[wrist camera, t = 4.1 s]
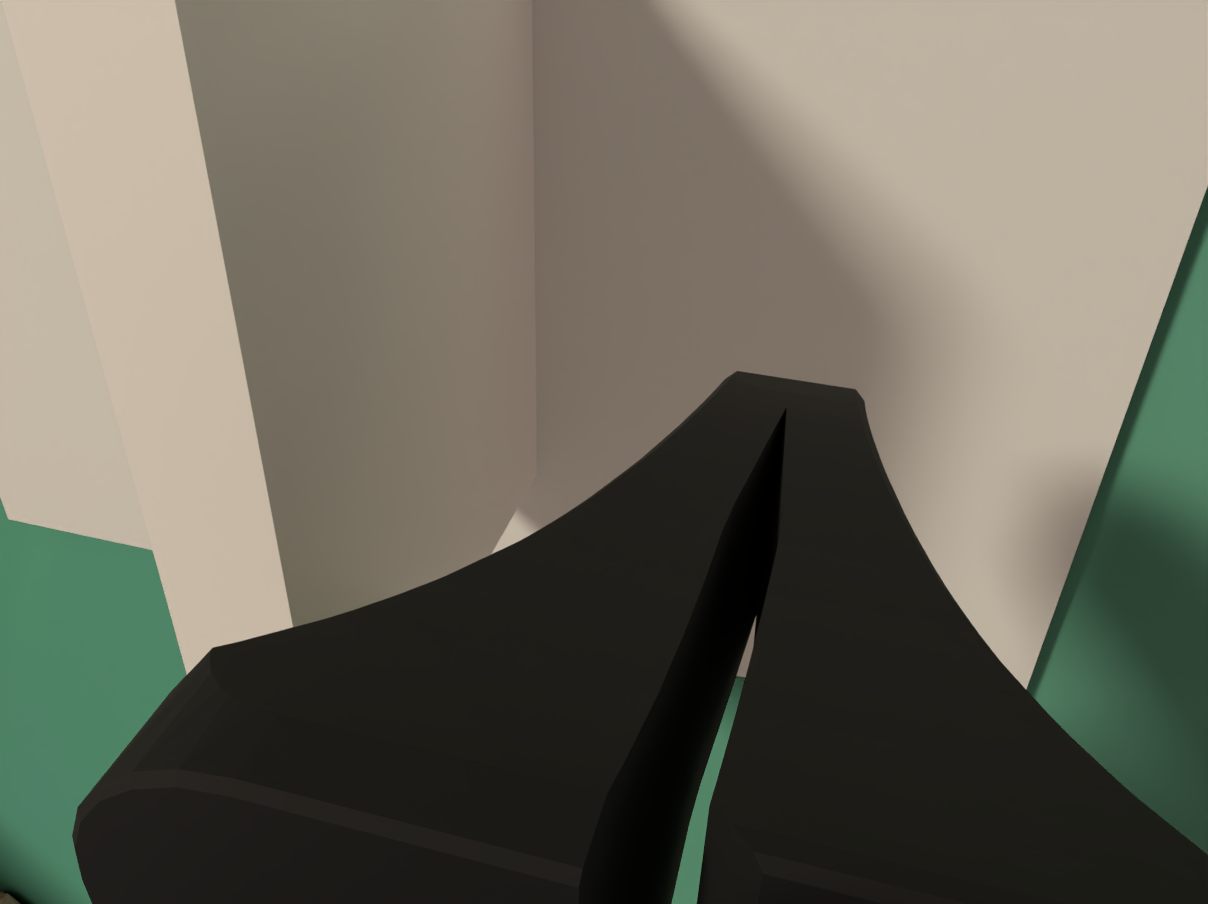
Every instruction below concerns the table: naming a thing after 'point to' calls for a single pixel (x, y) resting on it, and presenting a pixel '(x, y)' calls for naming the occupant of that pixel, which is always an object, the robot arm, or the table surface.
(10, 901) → the toy bridge
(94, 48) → the tile
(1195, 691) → the table surface
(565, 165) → the mat
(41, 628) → the table surface
